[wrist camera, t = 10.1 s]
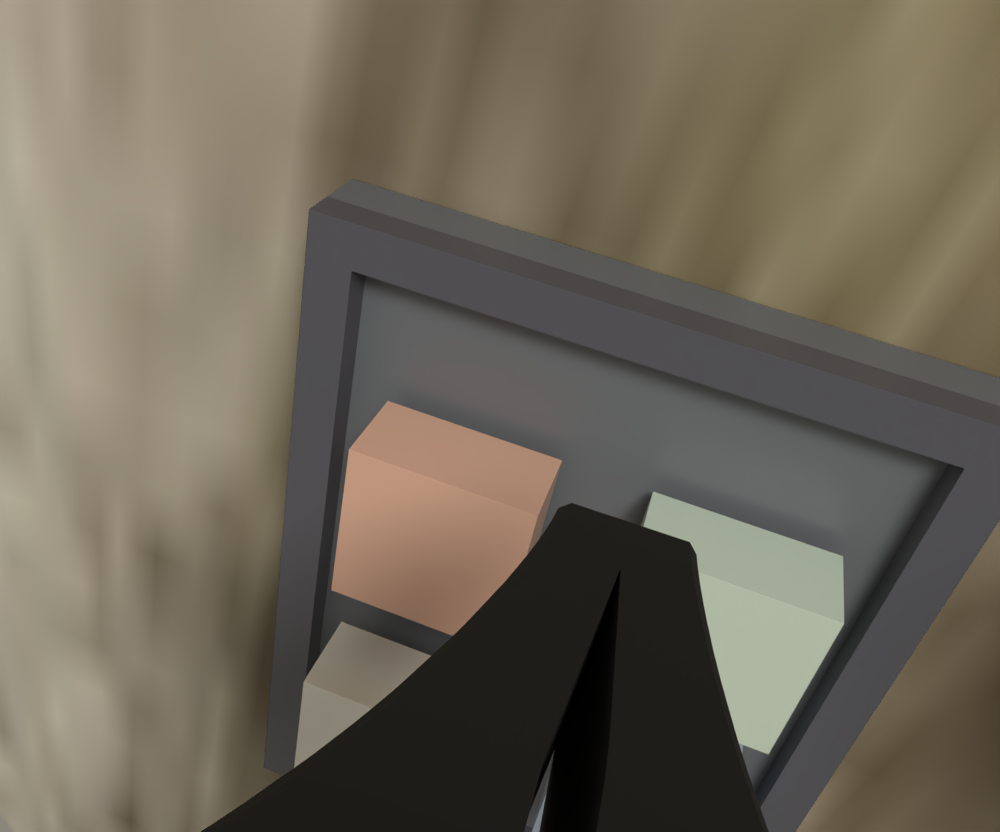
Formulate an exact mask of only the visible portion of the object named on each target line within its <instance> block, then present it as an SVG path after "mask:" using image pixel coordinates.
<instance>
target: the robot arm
mask: <svg viewBox="0 0 1000 832" xmlns="http://www.w3.org/2000/svg"><path fill="white" fill-rule="evenodd" d="M554 749H555V750H554ZM553 752H554V755H553V760H552V766H551V771H550V776H549V782H548V787H547V793H546V798H545V803H544V809H543V814H542V820H541V825H540V831H539V832H769V831H768V828H767V826H766V823H765V820H764V817H763V814H762V811H761V808H760V805H759V803H758V800H757V797H756V794H755V791H754V788H753V785H752V783H751V780H750V777H749V774H748V771H747V768H746V764H745V761H744V758H743V755H742V752H741V749H740V745H739V742H738V739H737V736H736V732H735V729H734V725H733V722H732V718H731V714H730V711H729V707H728V704H727V700H726V697H725V693H724V690H723V686H722V683H721V679H720V675H719V671H718V667H717V663H716V659H715V655H714V651H713V646H712V642H711V637H710V633H709V628H708V624H707V619H706V614H705V609H704V603H703V598H702V592H701V586H700V579H699V572H698V564H697V554H696V552H695V551H694V549H693V547H692V545H691V543H690V542H688V541H685V540H682V539H679V538H676V537H673V536H670V535H667V534H664V533H661V532H658V531H655V530H652V529H649V528H646V527H643V526H640V525H637V524H634V523H631V522H628V521H625V520H622V519H619V518H616V517H613V516H610V515H607V514H604V513H601V512H598V511H595V510H592V509H589V508H586V507H583V506H580V505H577V504H574V503H570V504H567V505H565V506H562V507H559V508H558V509H557V511H556V513H555V515H554V517H553V519H552V521H551V522H550V524H549V525H548V527H547V528H546V530H545V531H544V533H543V534H542V536H541V537H540V539H539V540H538V541H537V543H536V544H535V546H534V547H533V548H532V549H531V551H530V552H529V553H528V555H527V556H526V557H525V558H524V559H523V561H522V562H521V563H520V564H519V565H518V567H517V568H516V569H515V570H514V571H513V573H512V574H511V575H510V576H509V577H508V579H507V580H506V581H505V582H504V583H503V584H502V585H501V586H500V587H499V588H498V589H497V591H496V592H495V593H494V594H493V595H492V596H491V597H490V598H489V599H488V600H487V601H486V602H485V603H484V604H483V605H482V606H481V608H480V609H479V610H478V611H477V612H476V613H475V614H474V615H473V616H472V617H471V618H470V619H469V620H468V621H467V622H466V623H465V624H464V625H463V626H462V627H461V628H460V629H459V630H458V631H457V632H456V633H455V634H454V635H453V636H452V637H451V638H450V639H449V640H448V641H447V642H446V643H445V644H444V645H443V646H441V647H440V648H439V649H438V650H437V651H436V652H435V653H434V654H433V655H432V656H431V657H429V658H428V659H427V660H426V661H425V662H424V663H423V664H422V665H421V666H420V667H419V668H417V669H416V670H415V671H414V672H413V673H412V674H411V675H410V676H409V677H408V678H407V679H406V680H404V681H403V682H402V683H401V684H400V685H399V686H398V687H397V688H395V689H394V690H393V691H392V692H391V693H390V694H388V695H387V696H386V697H385V698H384V699H382V700H381V701H380V702H379V703H378V704H376V705H375V706H374V707H373V708H372V709H370V710H369V711H368V712H367V713H365V714H364V715H363V716H362V717H361V718H359V719H358V720H357V721H356V722H354V723H353V724H352V725H351V726H349V727H348V728H347V729H345V730H344V731H343V732H341V733H340V734H339V735H338V736H336V737H335V738H334V739H332V740H331V741H330V742H329V743H327V744H326V745H325V746H323V747H322V748H321V749H319V750H318V751H317V752H316V753H314V754H313V755H311V756H310V757H309V758H307V759H306V760H305V761H303V762H302V763H300V764H299V765H298V766H296V767H295V768H293V769H292V770H290V771H289V772H288V773H286V774H285V775H283V776H282V777H281V778H279V779H278V780H276V781H275V782H273V783H272V784H271V785H269V786H268V787H266V788H265V789H264V790H262V791H261V792H259V793H258V794H256V795H255V796H254V797H252V798H251V799H249V800H248V801H247V802H245V803H244V804H242V805H241V806H239V807H238V808H236V809H235V810H233V811H232V812H230V813H229V814H227V815H226V816H224V817H223V818H221V819H220V820H218V821H217V822H215V823H214V824H212V825H210V826H209V827H207V828H206V829H204V830H203V831H201V832H524V831H525V827H526V823H527V819H528V816H529V813H530V810H531V808H532V805H533V803H534V800H535V798H536V795H537V793H538V790H539V787H540V785H541V782H542V780H543V777H544V775H545V772H546V770H547V767H548V765H549V762H550V760H551V757H552V754H553Z"/></svg>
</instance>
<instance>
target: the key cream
mask: <svg viewBox="0 0 1000 832" xmlns="http://www.w3.org/2000/svg"><path fill="white" fill-rule="evenodd" d="M429 657H431V655H428V654H425V653H423V652H420V651H417V650H415V649H412V648H409V647H407V646H404V645H402V644H399V643H396V642H394V641H391V640H388V639H386V638H383V637H381V636H378V635H375V634H373V633H370V632H367V631H365V630H362V629H360V628H357V627H354V626H352V625H349V624H346V623H344V622H341V623H340V625H339V626H338V628H337V630H336V631H335V633H334V634H333V636H332V637H331V639H330V641H329V642H328V644H327V645H326V647H325V649H324V650H323V652H322V653H321V655H320V656H319V658H318V660H317V661H316V663H315V664H314V666H313V667H312V669H311V671H310V672H309V674H308V675H307V677H306V679H305V680H304V683H303V692H302V701H301V710H300V719H299V728H298V737H297V746H296V755H295V764H294V768H295V767H296V766H298V765H299V764H300V763H302V762H303V761H305V760H306V759H307V758H309V757H310V756H311V755H313V754H314V753H316V752H317V751H318V750H319V749H321V748H322V747H323V746H325V745H326V744H327V743H329V742H330V741H331V740H332V739H334V738H335V737H336V736H338V735H339V734H340V733H341V732H343V731H344V730H345V729H347V728H348V727H349V726H351V725H352V724H353V723H354V722H356V721H357V720H358V719H359V718H361V717H362V716H363V715H364V714H365V713H367V712H368V711H369V710H370V709H372V708H373V707H374V706H375V705H376V704H378V703H379V702H380V701H381V700H382V699H384V698H385V697H386V696H387V695H388V694H390V693H391V692H392V691H393V690H394V689H395V688H397V687H398V686H399V685H400V684H401V683H402V682H403V681H404V680H406V679H407V678H408V677H409V676H410V675H411V674H412V673H413V672H414V671H415V670H416V669H417V668H419V667H420V666H421V665H422V664H423V663H424V662H425V661H426V660H427V659H428V658H429Z"/></svg>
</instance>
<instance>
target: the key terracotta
mask: <svg viewBox="0 0 1000 832" xmlns="http://www.w3.org/2000/svg"><path fill="white" fill-rule="evenodd" d="M561 463H562V460H560V459H557V458H554V457H551V456H548V455H545V454H542V453H539V452H536V451H533V450H530V449H527V448H524V447H521V446H519V445H516V444H513V443H510V442H507V441H504V440H501V439H498V438H495V437H492V436H489V435H486V434H483V433H480V432H478V431H475V430H472V429H469V428H466V427H463V426H460V425H457V424H454V423H451V422H448V421H445V420H442V419H439V418H437V417H434V416H431V415H428V414H425V413H422V412H419V411H416V410H413V409H410V408H407V407H404V406H401V405H399V404H396V403H393V402H390V401H387V402H386V404H385V405H384V406H383V407H382V409H381V410H380V411H379V412H378V414H377V415H376V416H375V417H374V419H373V420H372V421H371V422H370V424H369V425H368V426H367V427H366V429H365V430H364V431H363V432H362V434H361V435H360V436H359V437H358V439H357V440H356V441H355V442H354V444H353V445H352V446H351V447H350V449H349V453H348V461H347V469H346V477H345V485H344V493H343V501H342V509H341V516H340V524H339V532H338V540H337V548H336V556H335V564H334V572H333V580H332V588H331V590H332V591H335V592H338V593H340V594H343V595H346V596H348V597H351V598H354V599H356V600H359V601H362V602H364V603H367V604H369V605H372V606H375V607H377V608H380V609H383V610H385V611H388V612H391V613H393V614H396V615H399V616H401V617H404V618H407V619H409V620H412V621H415V622H417V623H420V624H423V625H425V626H428V627H431V628H433V629H436V630H439V631H441V632H444V633H447V634H449V635H452V636H453V635H454V634H455V633H456V632H457V631H458V630H459V629H460V628H461V627H462V626H463V625H464V624H465V623H466V622H467V621H468V620H469V619H470V618H471V617H472V616H473V615H474V614H475V613H476V612H477V611H478V610H479V609H480V608H481V606H482V605H483V604H484V603H485V602H486V601H487V600H488V599H489V598H490V597H491V596H492V595H493V594H494V593H495V592H496V591H497V589H498V588H499V587H500V586H501V585H502V584H503V583H504V582H505V581H506V580H507V579H508V577H509V576H510V575H511V574H512V573H513V571H514V570H515V569H516V568H517V567H518V565H519V564H520V563H521V562H522V561H523V559H524V558H525V557H526V556H527V555H528V553H529V552H530V551H531V549H532V548H533V547H534V546H535V544H536V543H537V541H538V540H539V539H540V535H541V532H542V528H543V525H544V521H545V518H546V514H547V511H548V508H549V504H550V501H551V497H552V494H553V490H554V487H555V483H556V480H557V477H558V473H559V470H560V466H561Z"/></svg>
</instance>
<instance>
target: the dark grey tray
mask: <svg viewBox="0 0 1000 832" xmlns="http://www.w3.org/2000/svg"><path fill="white" fill-rule="evenodd" d="M387 401H390V402H393V403H396V404H399V405H401V406H404V407H407V408H410V409H413V410H416V411H419V412H422V413H425V414H428V415H431V416H434V417H437V418H439V419H442V420H445V421H448V422H451V423H454V424H457V425H460V426H463V427H466V428H469V429H472V430H475V431H478V432H480V433H483V434H486V435H489V436H492V437H495V438H498V439H501V440H504V441H507V442H510V443H513V444H516V445H519V446H521V447H524V448H527V449H530V450H533V451H536V452H539V453H542V454H545V455H548V456H551V457H554V458H557V459H560V460H562V463H561V466H560V470H559V473H558V477H557V480H556V483H555V487H554V490H553V494H552V497H551V501H550V504H549V508H548V511H547V514H546V518H545V521H544V525H543V528H542V532H541V535H540V537H541V536H542V534H543V533H544V531H545V530H546V528H547V527H548V525H549V524H550V522H551V521H552V519H553V517H554V515H555V513H556V511H557V509H558V508H559V507H562V506H565V505H567V504H570V503H574V504H577V505H580V506H583V507H586V508H589V509H592V510H595V511H598V512H601V513H604V514H607V515H610V516H613V517H616V518H619V519H622V520H625V521H628V522H631V523H634V524H637V525H640V526H641V523H642V520H643V518H644V515H645V512H646V509H647V507H648V504H649V501H650V499H651V496H652V493H653V492H656V493H659V494H662V495H665V496H668V497H671V498H674V499H677V500H680V501H683V502H686V503H688V504H691V505H694V506H697V507H700V508H703V509H706V510H709V511H712V512H715V513H718V514H721V515H724V516H727V517H729V518H732V519H735V520H738V521H741V522H744V523H747V524H750V525H753V526H756V527H759V528H762V529H765V530H767V531H770V532H773V533H776V534H779V535H782V536H785V537H788V538H791V539H794V540H797V541H800V542H803V543H806V544H808V545H811V546H814V547H817V548H820V549H823V550H826V551H829V552H832V553H835V554H838V555H841V556H843V580H844V625H843V626H842V628H841V630H840V632H839V633H838V635H837V637H836V639H835V640H834V642H833V644H832V645H831V647H830V649H829V651H828V652H827V654H826V656H825V658H824V659H823V661H822V663H821V664H820V666H819V668H818V670H817V671H816V673H815V675H814V677H813V678H812V680H811V682H810V683H809V685H808V687H807V689H806V690H805V692H804V694H803V696H802V697H801V699H800V701H799V702H798V704H797V706H796V708H795V709H794V711H793V713H792V715H791V716H790V718H789V720H788V721H787V723H786V725H785V727H784V728H783V730H782V732H781V734H780V735H779V737H778V739H777V740H776V742H775V744H774V746H773V747H772V749H771V751H770V753H769V754H766V753H763V752H761V751H758V750H755V749H753V748H750V747H747V746H745V745H743V751H742V755H743V758H744V761H745V764H746V768H747V771H748V774H749V777H750V780H751V783H752V785H753V788H754V791H755V794H756V797H757V800H758V803H759V805H760V808H761V811H762V814H763V817H764V820H765V823H766V826H767V828H768V831H769V832H796V830H797V828H798V827H799V825H800V824H801V822H802V821H803V819H804V818H805V816H806V815H807V813H808V812H809V810H810V809H811V807H812V806H813V804H814V803H815V801H816V800H817V798H818V796H819V795H820V793H821V792H822V790H823V789H824V787H825V786H826V784H827V783H828V781H829V780H830V778H831V777H832V775H833V774H834V772H835V771H836V769H837V767H838V766H839V764H840V763H841V761H842V760H843V758H844V757H845V755H846V754H847V752H848V751H849V749H850V748H851V746H852V745H853V743H854V742H855V740H856V738H857V737H858V735H859V734H860V732H861V731H862V729H863V728H864V726H865V725H866V723H867V722H868V720H869V719H870V717H871V716H872V714H873V713H874V711H875V709H876V708H877V706H878V705H879V703H880V702H881V700H882V699H883V697H884V696H885V694H886V693H887V691H888V690H889V688H890V687H891V685H892V684H893V682H894V680H895V679H896V677H897V676H898V674H899V673H900V671H901V670H902V668H903V667H904V665H905V664H906V662H907V661H908V659H909V658H910V656H911V655H912V653H913V651H914V650H915V648H916V647H917V645H918V644H919V642H920V641H921V639H922V638H923V636H924V635H925V633H926V632H927V630H928V629H929V627H930V626H931V624H932V623H933V621H934V619H935V618H936V616H937V615H938V613H939V612H940V610H941V609H942V607H943V606H944V604H945V603H946V601H947V600H948V598H949V597H950V595H951V594H952V592H953V590H954V589H955V587H956V586H957V584H958V583H959V581H960V580H961V578H962V577H963V575H964V574H965V572H966V571H967V569H968V568H969V566H970V565H971V563H972V561H973V560H974V558H975V557H976V555H977V554H978V552H979V551H980V549H981V548H982V546H983V545H984V543H985V542H986V540H987V539H988V537H989V536H990V534H991V532H992V531H993V529H994V528H995V526H996V525H997V523H998V522H999V520H1000V378H998V377H995V376H992V375H988V374H985V373H982V372H979V371H975V370H972V369H969V368H965V367H962V366H959V365H956V364H952V363H949V362H946V361H943V360H939V359H936V358H933V357H930V356H926V355H923V354H920V353H917V352H913V351H910V350H907V349H904V348H900V347H897V346H894V345H891V344H887V343H884V342H881V341H878V340H874V339H871V338H868V337H865V336H861V335H858V334H855V333H852V332H848V331H845V330H842V329H839V328H835V327H832V326H829V325H826V324H822V323H819V322H816V321H813V320H809V319H806V318H803V317H800V316H796V315H793V314H790V313H787V312H783V311H780V310H777V309H774V308H770V307H767V306H764V305H760V304H757V303H754V302H751V301H747V300H744V299H741V298H738V297H734V296H731V295H728V294H725V293H721V292H718V291H715V290H712V289H708V288H705V287H702V286H699V285H695V284H692V283H689V282H686V281H682V280H679V279H676V278H673V277H669V276H666V275H663V274H660V273H656V272H653V271H650V270H647V269H643V268H640V267H637V266H634V265H630V264H627V263H624V262H621V261H617V260H614V259H611V258H608V257H604V256H601V255H598V254H595V253H591V252H588V251H585V250H582V249H578V248H575V247H572V246H569V245H565V244H562V243H559V242H556V241H552V240H549V239H546V238H542V237H539V236H536V235H533V234H529V233H526V232H523V231H520V230H516V229H513V228H510V227H507V226H503V225H500V224H497V223H494V222H490V221H487V220H484V219H481V218H477V217H474V216H471V215H468V214H464V213H461V212H458V211H455V210H451V209H448V208H445V207H442V206H438V205H435V204H432V203H429V202H425V201H422V200H419V199H416V198H412V197H409V196H406V195H403V194H399V193H396V192H393V191H390V190H386V189H383V188H380V187H377V186H373V185H370V184H367V183H364V182H360V181H357V180H354V179H352V180H351V181H349V182H348V183H346V184H345V185H343V186H342V187H341V188H339V189H338V190H336V191H335V192H333V193H332V194H330V195H329V196H328V197H326V198H325V199H323V200H322V201H320V202H319V203H317V204H316V205H315V206H313V207H312V208H310V209H309V217H308V230H307V242H306V254H305V267H304V279H303V291H302V304H301V316H300V328H299V341H298V353H297V365H296V378H295V390H294V402H293V415H292V427H291V439H290V452H289V464H288V477H287V489H286V501H285V514H284V526H283V538H282V551H281V563H280V575H279V588H278V600H277V612H276V625H275V637H274V649H273V662H272V674H271V686H270V699H269V711H268V723H267V736H266V748H265V760H264V767H265V768H267V769H269V770H272V771H274V772H277V773H279V774H282V775H285V774H286V773H288V772H289V771H290V770H292V769H293V768H294V764H295V755H296V746H297V737H298V728H299V719H300V710H301V701H302V692H303V683H304V680H305V679H306V677H307V675H308V674H309V672H310V671H311V669H312V667H313V666H314V664H315V663H316V661H317V660H318V658H319V656H320V655H321V653H322V652H323V650H324V649H325V647H326V645H327V644H328V642H329V641H330V639H331V637H332V636H333V634H334V633H335V631H336V630H337V628H338V626H339V625H340V623H341V622H344V623H346V624H349V625H352V626H354V627H357V628H360V629H362V630H365V631H367V632H370V633H373V634H375V635H378V636H381V637H383V638H386V639H388V640H391V641H394V642H396V643H399V644H402V645H404V646H407V647H409V648H412V649H415V650H417V651H420V652H423V653H425V654H428V655H431V656H432V655H433V654H434V653H435V652H436V651H437V650H438V649H439V648H440V647H441V646H443V645H444V644H445V643H446V642H447V641H448V640H449V639H450V638H451V637H452V635H449V634H447V633H444V632H441V631H439V630H436V629H433V628H431V627H428V626H425V625H423V624H420V623H417V622H415V621H412V620H409V619H407V618H404V617H401V616H399V615H396V614H393V613H391V612H388V611H385V610H383V609H380V608H377V607H375V606H372V605H369V604H367V603H364V602H362V601H359V600H356V599H354V598H351V597H348V596H346V595H343V594H340V593H338V592H335V591H332V590H331V588H332V580H333V572H334V564H335V556H336V548H337V540H338V532H339V524H340V516H341V509H342V501H343V493H344V485H345V477H346V469H347V461H348V453H349V449H350V447H351V446H352V445H353V444H354V442H355V441H356V440H357V439H358V437H359V436H360V435H361V434H362V432H363V431H364V430H365V429H366V427H367V426H368V425H369V424H370V422H371V421H372V420H373V419H374V417H375V416H376V415H377V414H378V412H379V411H380V410H381V409H382V407H383V406H384V405H385V404H386V402H387ZM554 750H555V749H554ZM553 755H554V752H553V754H552V757H551V760H550V762H549V765H548V767H547V770H546V772H545V775H544V777H543V780H542V782H541V785H540V787H539V790H538V793H537V795H536V798H535V800H534V803H533V805H532V808H531V810H530V813H529V816H528V819H527V823H526V827H525V831H524V832H531V831H532V828H533V824H534V821H535V818H536V814H537V811H538V808H539V805H540V801H541V798H542V795H543V791H544V788H545V785H546V782H547V778H548V775H549V772H550V770H551V766H552V760H553Z"/></svg>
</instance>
